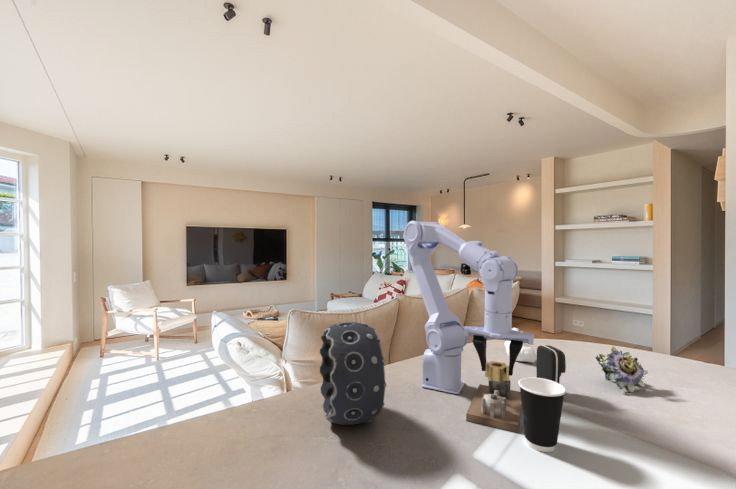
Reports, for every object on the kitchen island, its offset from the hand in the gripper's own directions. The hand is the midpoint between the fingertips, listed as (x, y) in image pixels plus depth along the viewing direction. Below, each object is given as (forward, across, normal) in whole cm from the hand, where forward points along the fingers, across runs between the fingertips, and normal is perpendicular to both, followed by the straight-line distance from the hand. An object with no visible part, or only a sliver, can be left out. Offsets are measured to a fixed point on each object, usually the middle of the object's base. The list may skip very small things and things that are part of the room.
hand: (497, 371), depth 79 cm
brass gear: (+1, 0, 0) cm, 1 cm away
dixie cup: (+8, +9, -11) cm, 16 cm away
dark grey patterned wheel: (+8, -27, -19) cm, 34 cm away
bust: (+9, +2, +38) cm, 39 cm away
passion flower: (+9, +27, +29) cm, 41 cm away
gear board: (+8, 0, 0) cm, 8 cm away
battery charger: (+8, +11, +15) cm, 20 cm away
